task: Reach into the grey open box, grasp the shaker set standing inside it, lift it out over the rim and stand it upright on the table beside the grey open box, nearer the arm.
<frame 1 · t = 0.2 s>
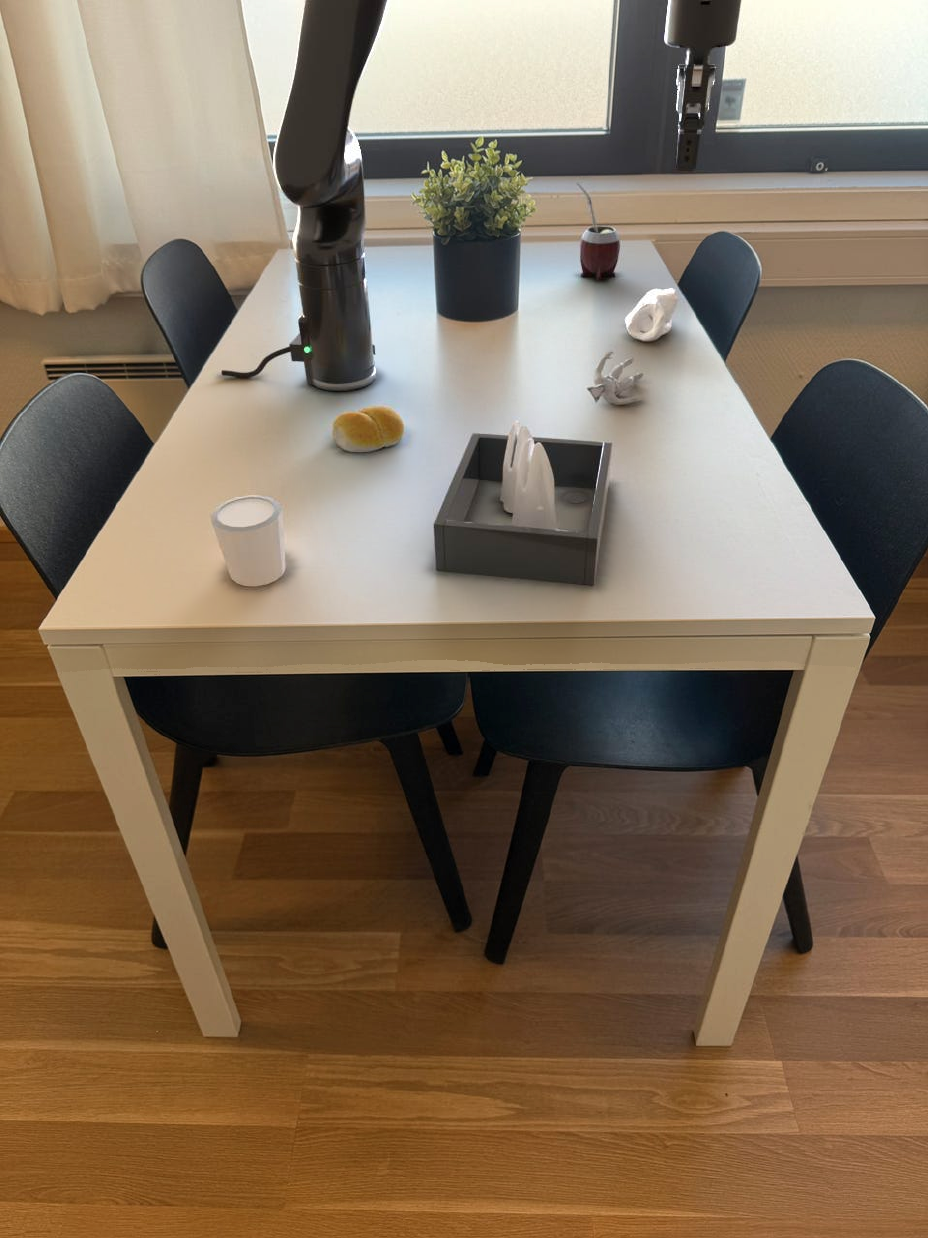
hand: (685, 161, 103), 29 cm above the table, tool pointing down, fingers open, 8 cm apart
grey open box: (527, 525, 96), on the table
bread roll: (368, 440, 113), on the table
mate gourd: (595, 276, 163), on the table
shaker set: (527, 526, 96), resting in grey open box
soldier figure: (614, 396, 122), on the table
white irregular lump: (649, 331, 141), on the table
white cylinder: (258, 572, 91), on the table
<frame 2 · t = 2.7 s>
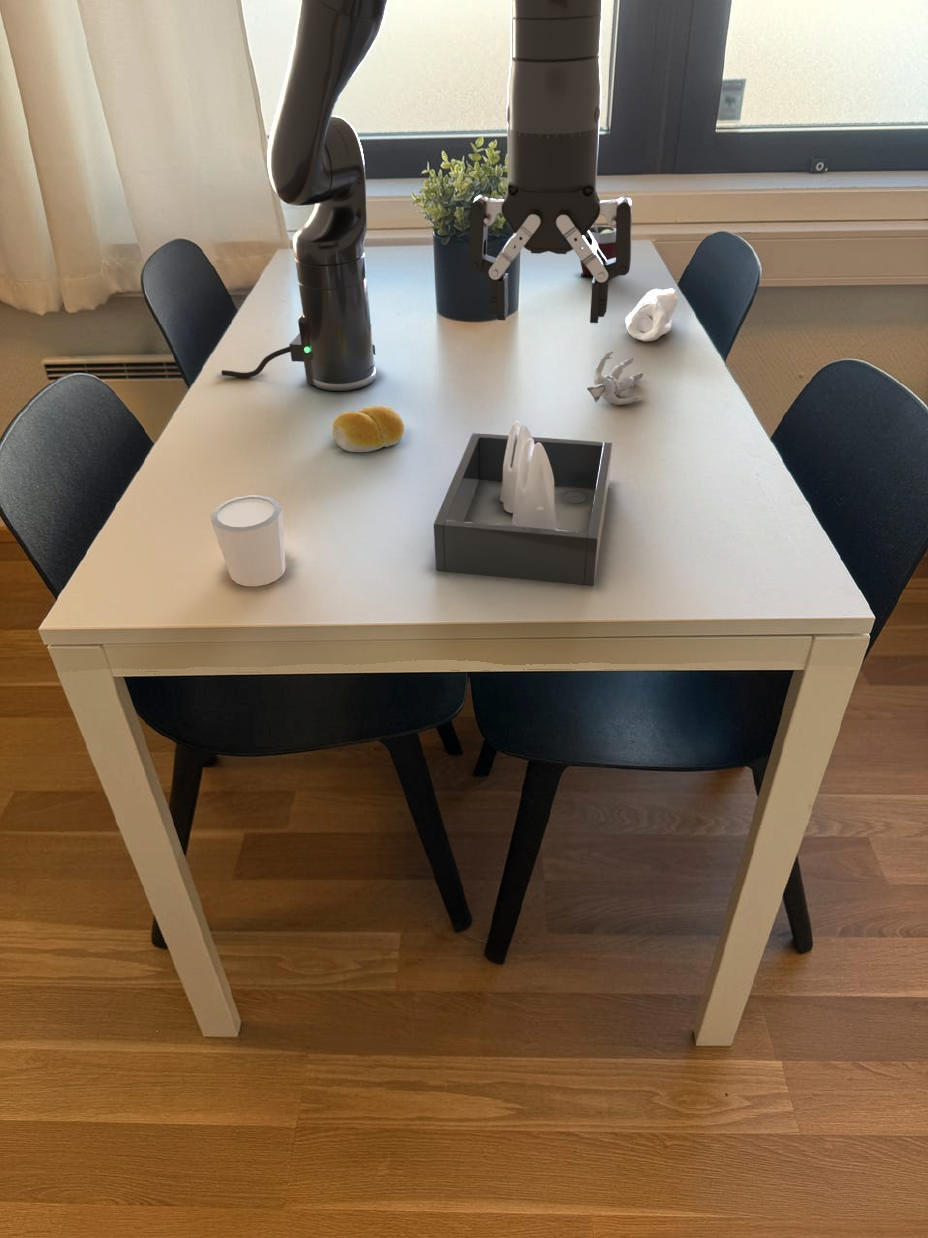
hand: (547, 319, 82), 23 cm above the table, tool pointing down, fingers open, 8 cm apart
nothing on the table moved.
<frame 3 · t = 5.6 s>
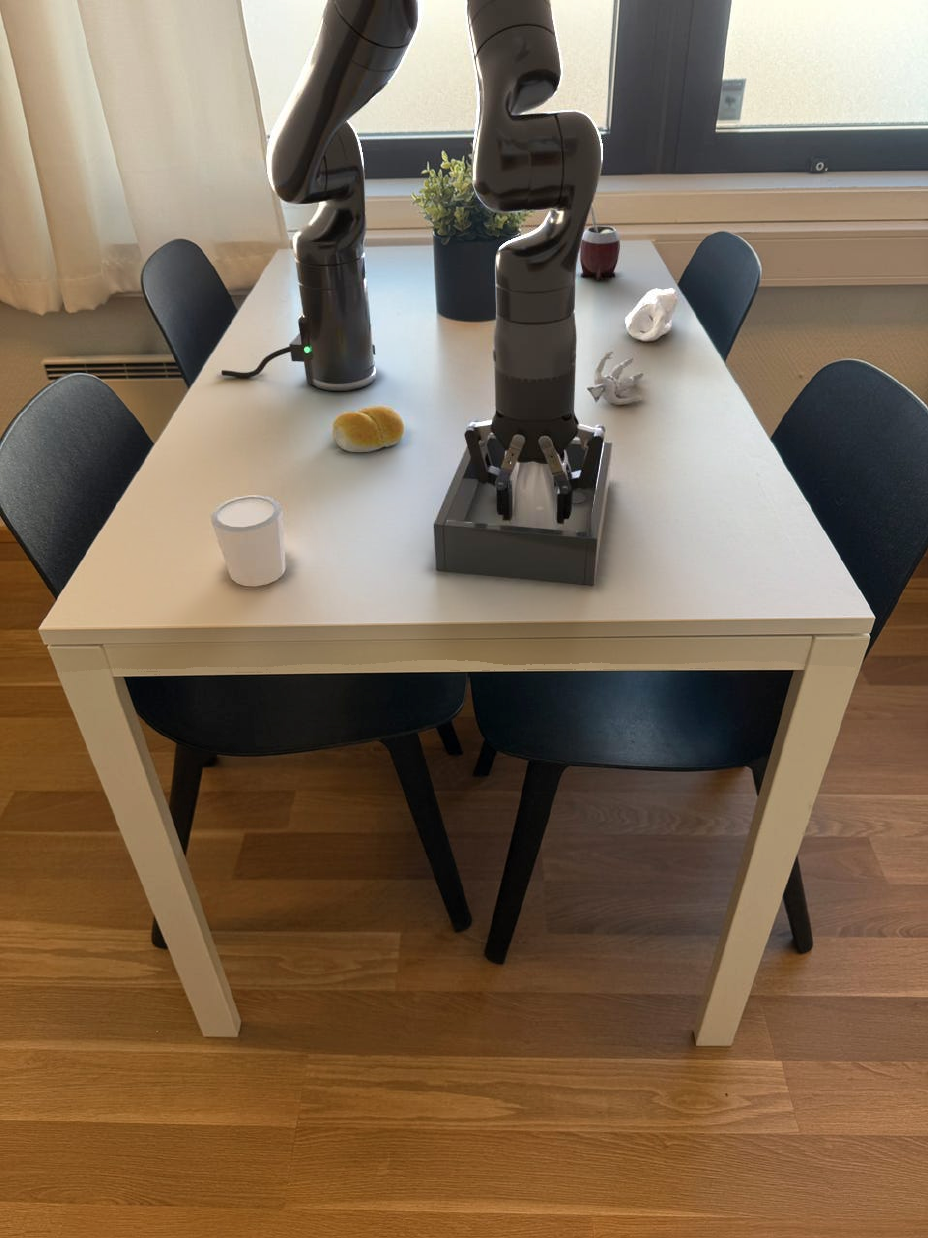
hand: (534, 517, 92), 3 cm above the table, tool pointing down, fingers closed on shaker set, 5 cm apart
shaker set: (527, 526, 96), resting in grey open box, touching gripper
everything else where it was.
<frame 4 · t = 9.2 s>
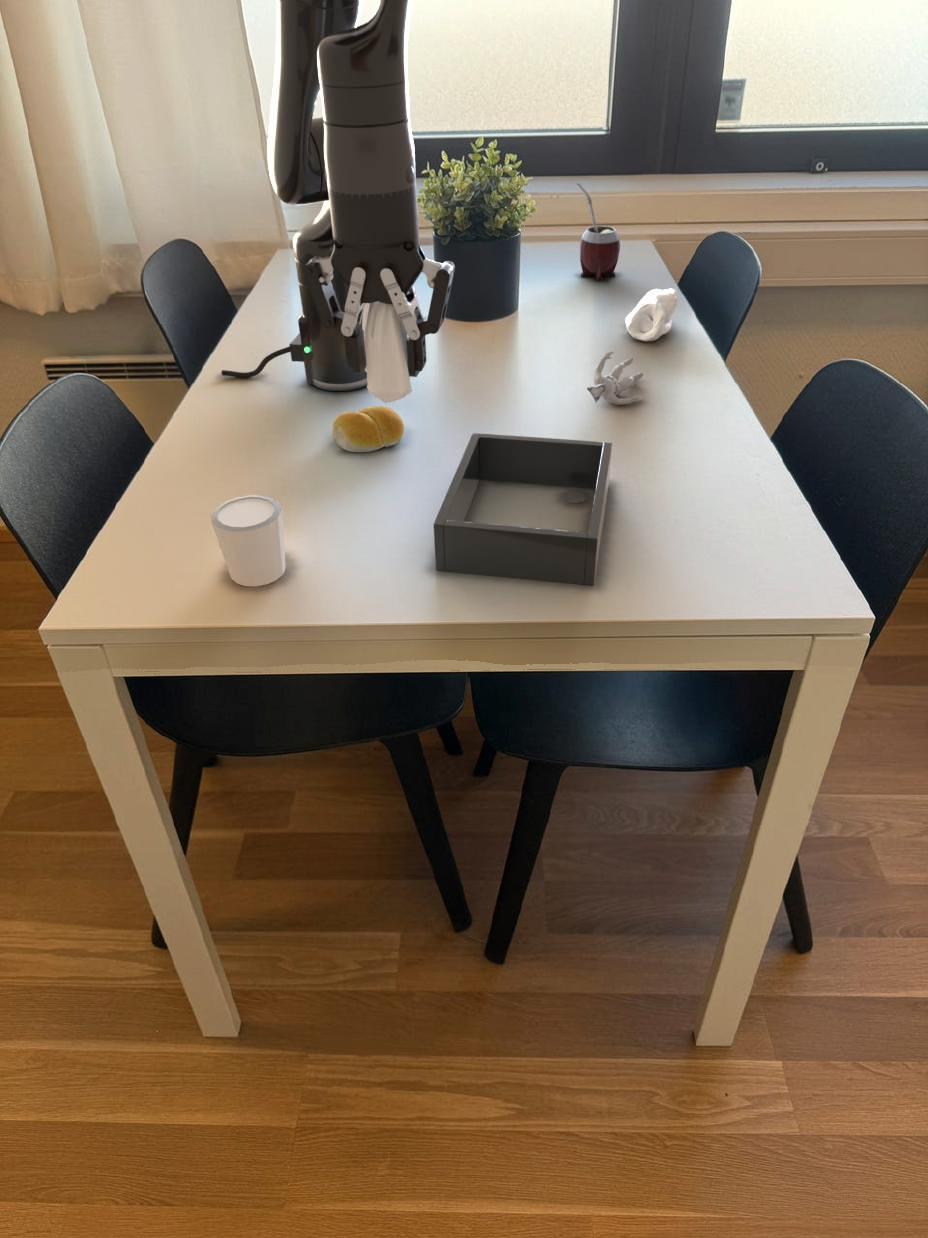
hand: (387, 371, 86), 18 cm above the table, tool pointing down, fingers closed on shaker set, 5 cm apart
shaker set: (387, 387, 90), point 15 cm above the table, touching gripper
everything else where it was.
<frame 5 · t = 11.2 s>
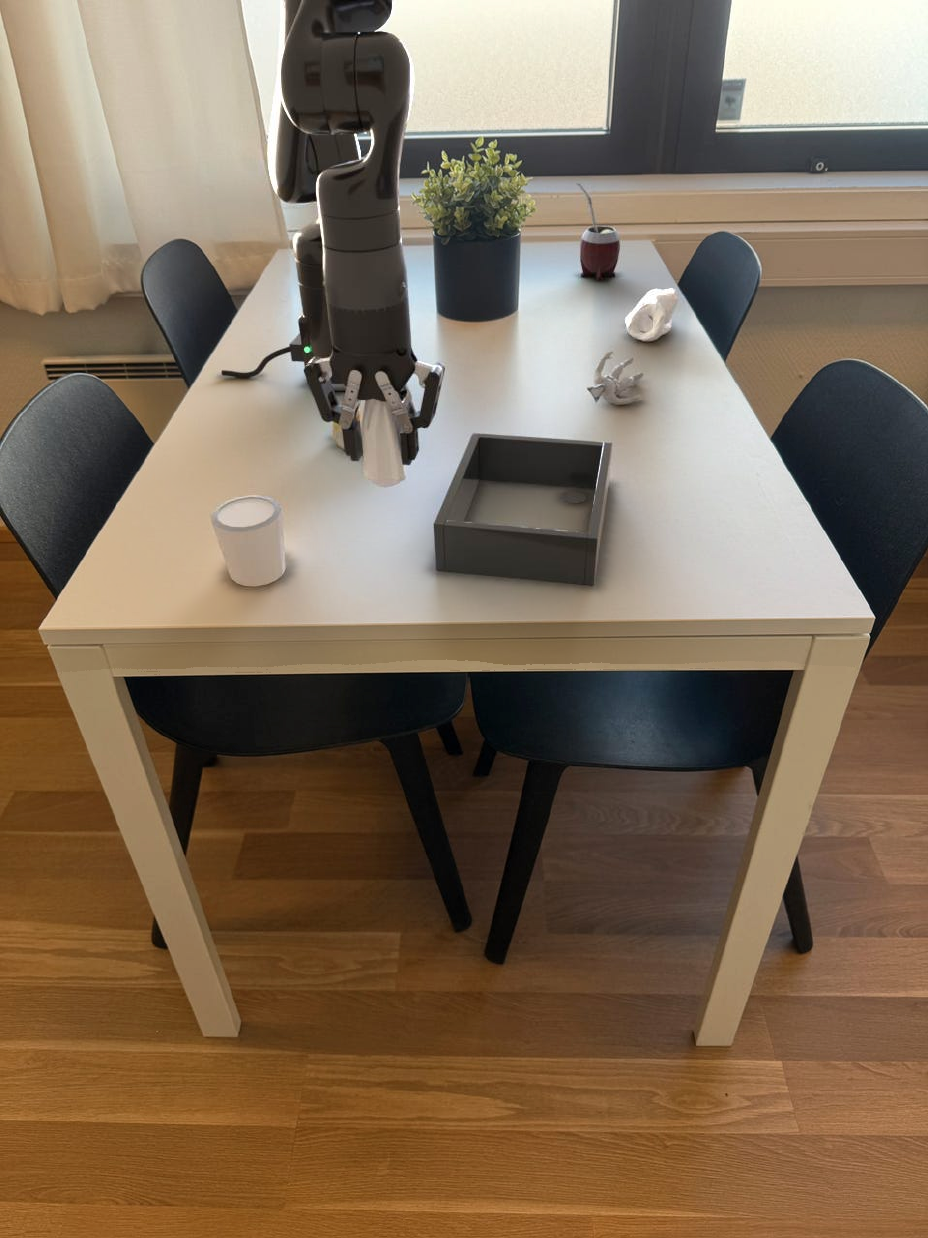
hand: (382, 458, 91), 8 cm above the table, tool pointing down, fingers closed on shaker set, 5 cm apart
shaker set: (382, 470, 96), point 5 cm above the table, touching gripper
everything else where it was.
when the fingers open (3 cm above the table, at t = 12.9 s): shaker set stays where it is, on the table.
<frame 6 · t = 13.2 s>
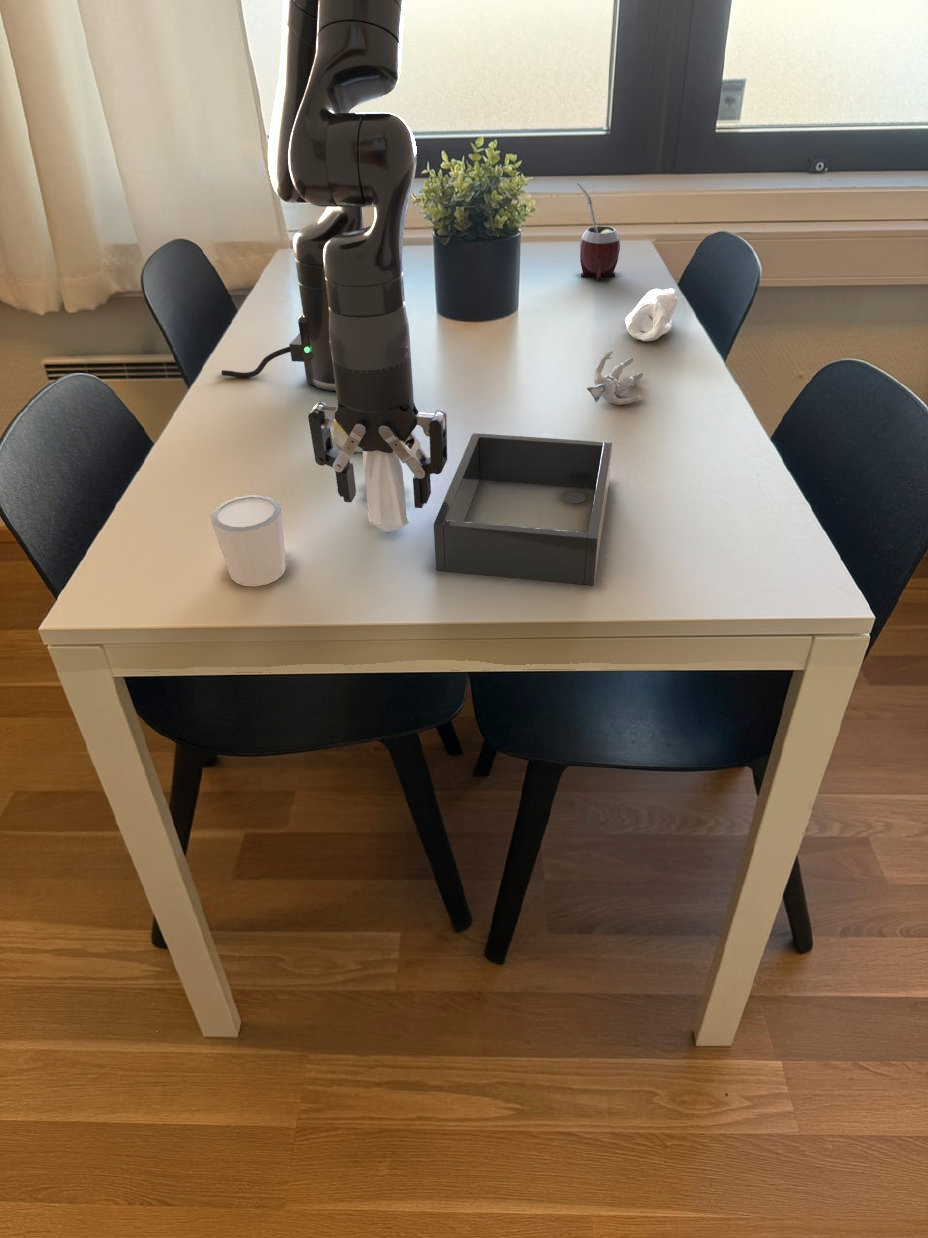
hand: (384, 501, 95), 3 cm above the table, tool pointing down, fingers open, 7 cm apart
shaker set: (386, 514, 99), on the table
everything else where it was.
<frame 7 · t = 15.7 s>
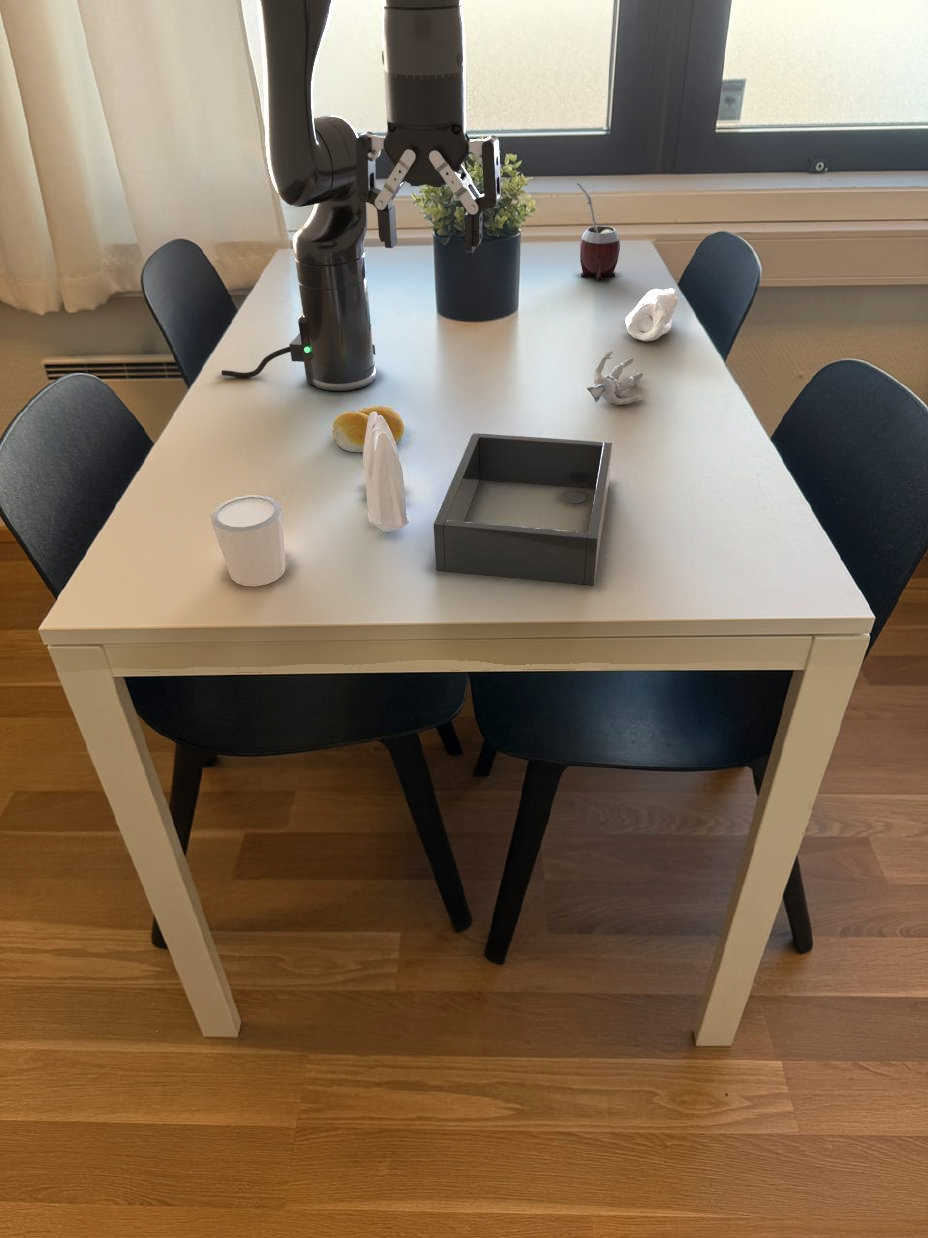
hand: (430, 248, 92), 25 cm above the table, tool pointing down, fingers open, 8 cm apart
nothing on the table moved.
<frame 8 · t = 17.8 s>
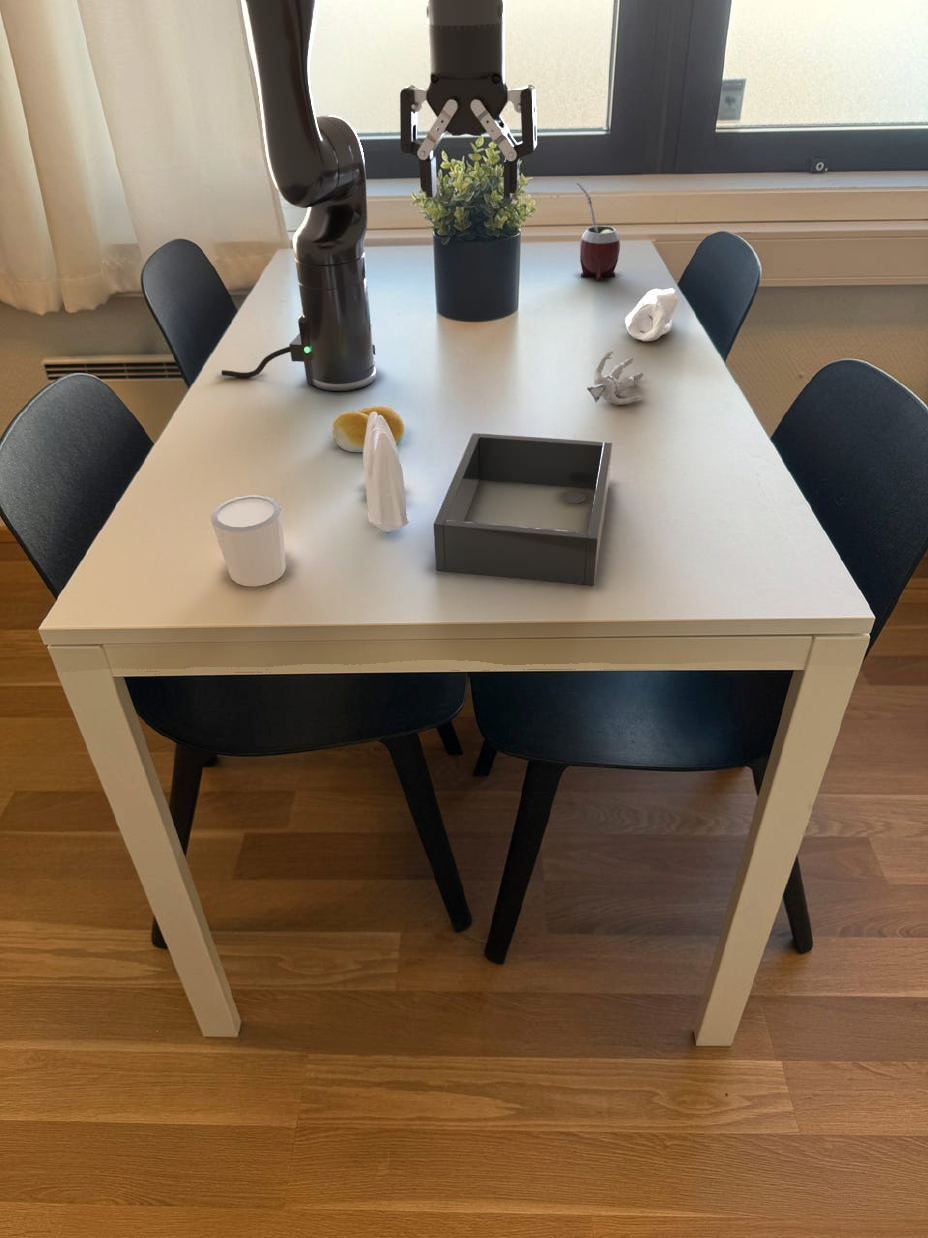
hand: (469, 196, 97), 28 cm above the table, tool pointing down, fingers open, 8 cm apart
nothing on the table moved.
at the end: shaker set inside the target area (0.9 cm from its centre), on the table; shaker set tilted 0°; shaker set touching table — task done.
